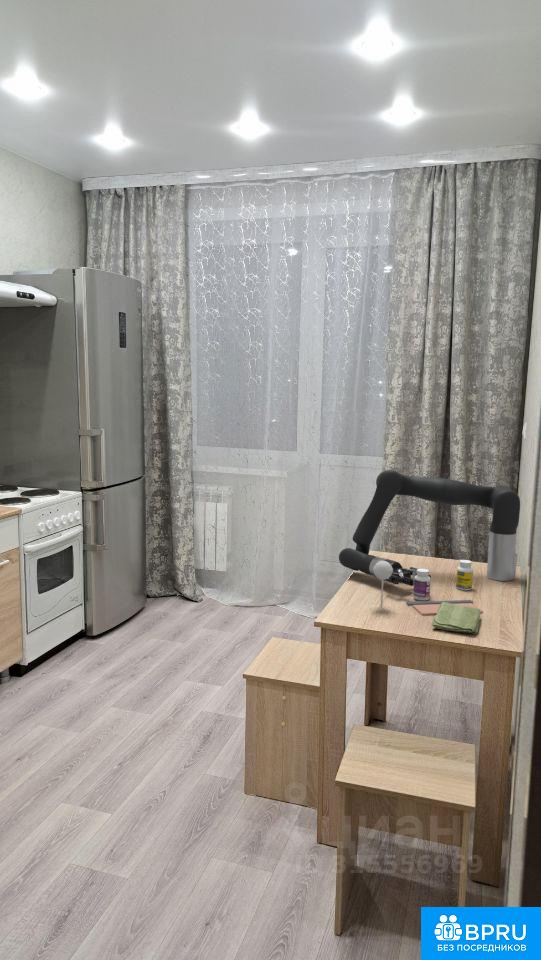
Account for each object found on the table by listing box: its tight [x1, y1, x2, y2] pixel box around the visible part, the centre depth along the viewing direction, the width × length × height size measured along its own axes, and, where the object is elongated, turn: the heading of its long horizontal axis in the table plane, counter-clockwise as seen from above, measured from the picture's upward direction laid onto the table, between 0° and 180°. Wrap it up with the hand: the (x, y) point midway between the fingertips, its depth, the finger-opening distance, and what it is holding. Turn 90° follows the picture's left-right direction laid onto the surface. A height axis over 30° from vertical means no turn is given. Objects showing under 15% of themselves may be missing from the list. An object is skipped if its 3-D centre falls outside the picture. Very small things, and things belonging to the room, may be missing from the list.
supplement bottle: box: [455, 559, 474, 591], centre depth 238 cm, size 5×5×10 cm
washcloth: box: [431, 602, 481, 635], centre depth 204 cm, size 13×18×3 cm
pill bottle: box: [412, 568, 432, 602], centre depth 227 cm, size 5×5×10 cm
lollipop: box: [373, 561, 393, 608], centre depth 217 cm, size 6×6×15 cm
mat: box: [406, 599, 484, 616], centre depth 218 cm, size 22×11×1 cm, turn 99°
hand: (421, 580), depth 227 cm, fingers open, 8 cm apart
